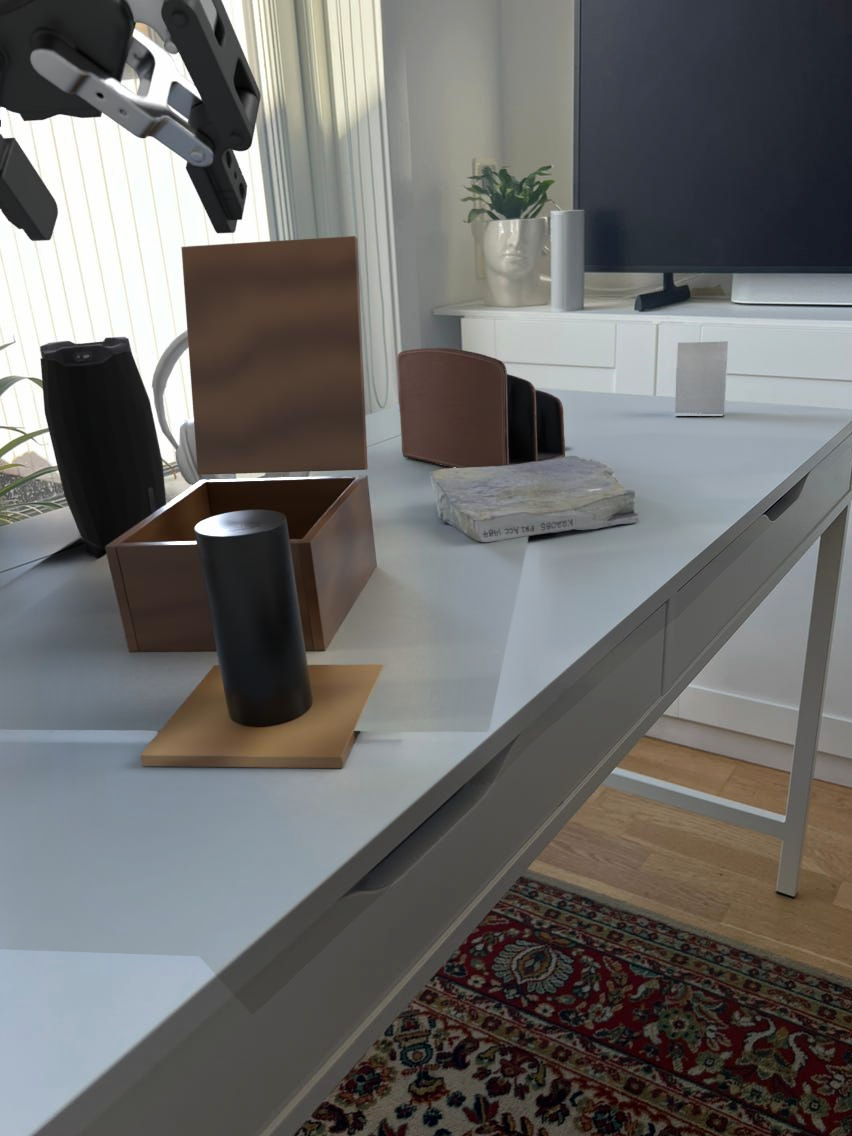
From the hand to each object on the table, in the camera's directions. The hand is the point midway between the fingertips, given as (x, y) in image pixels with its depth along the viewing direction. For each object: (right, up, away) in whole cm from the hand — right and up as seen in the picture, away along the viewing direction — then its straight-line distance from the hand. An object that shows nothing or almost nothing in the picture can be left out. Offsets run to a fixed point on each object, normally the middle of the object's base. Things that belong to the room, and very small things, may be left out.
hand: (137, 222), depth 42 cm
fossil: (+21, -6, +55) cm, 59 cm away
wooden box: (-2, -16, +34) cm, 38 cm away
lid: (-2, +5, +36) cm, 37 cm away
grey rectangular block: (+47, +14, +95) cm, 107 cm away
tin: (+2, -23, +17) cm, 29 cm away
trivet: (+2, -23, +18) cm, 30 cm away
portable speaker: (-20, -9, +53) cm, 57 cm away
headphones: (-10, -3, +66) cm, 67 cm away
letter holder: (+15, +4, +77) cm, 79 cm away
